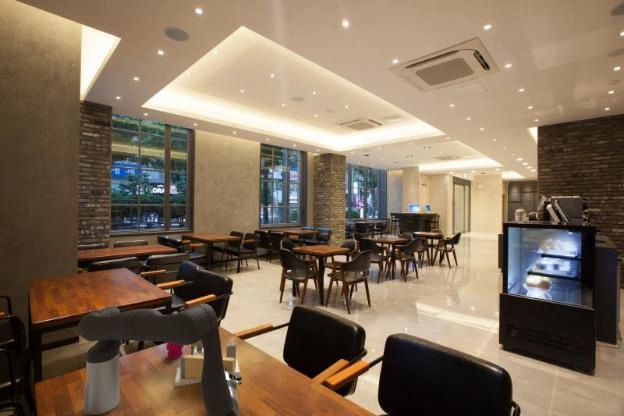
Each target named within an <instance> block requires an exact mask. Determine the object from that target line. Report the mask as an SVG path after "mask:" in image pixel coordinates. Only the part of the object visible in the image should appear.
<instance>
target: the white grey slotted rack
mask: <svg viewBox="0 0 624 416" xmlns="http://www.w3.org/2000/svg"><path fill="white" fill-rule="evenodd" d="M225 345H226V346H225V347H226V348H225V349H226V352H225V353H226V356H225V357H227V358H235V374H237V375H240V376H241V373H240V367H239V361H238V358H237V353H236V352H237V345H236V341H233V342H227V343H225ZM197 383H201V379H194V378H181V377H180V366H178V367H177V368H176V374H175V380H174V387H181V386H186V385H192V384H197Z"/></svg>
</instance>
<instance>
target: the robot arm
mask: <svg viewBox="0 0 624 416" xmlns="http://www.w3.org/2000/svg"><path fill="white" fill-rule="evenodd" d="M219 327H220V326H219V322H218V317H217V313H216V311H215V310H214V308H213V307H212V305H209V304H208V303H199V304H197V305H194V306H191V307H190V308H187V309H185V310H183V311H180V312H177V314H164V315H163V314H162V313H161V312H160V311H159V310H157V309H153V308H138V309H137V308H136V309H131V310H125V311H122V312H121V311H120V309H119V308H118V307H115V306H108V307H105V308H102V309H98V310H95V311H92V312H90V313H87V314H86V315H84V316H82V318H81V319H80V321H79V323H78V333H79V335H80V337H82V338H83V340H86V341H89V342H96V343H95V344H93V345H92V346H91V347H90V348H89V349H88V350H87V352H86V361H85V362H86V365H85V366H86V367H85V368H86V383H85V384H84V385H83V391H84V392H83V395H84V396H83V399H84V400H83V402H84V404H83V405H84V406H83V407H84V408H83V409H84V410H83V411H84V412H83V414H84V415H91V416H98V415H103V414H106V413H108V412H110V411H112V410H114V409H115V408H116V407H117V406H118V405H119V404H120V349H121V346H122V341H133V342H134V341H135V342H139V341H140V342H164V343H173V344H178V345H184V346H191V344H194V343H196V342H198V341H199V340H201V341H202V345H203V351H204V360H203V369H202V377H201V382H200V389H201V390H200V391H201V397H202V399H203V403H204V406H205V409H206V410H205V411H206V414H207V416H242V415H241V413H240V411H239V399H238V397H239V396H238V392H237V391H238V390H237V386H238V385H239V386H240V385H242V384H243V376H242V375H241V374H240V375H237V374H235V373H233V372H229V373H227V369H226V368H225V367H224V365H223V358H222V357H223V353H222V352H223V351H222V344H221V343H222V341H221V335H220V328H219ZM232 376H233V378H232Z"/></svg>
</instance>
